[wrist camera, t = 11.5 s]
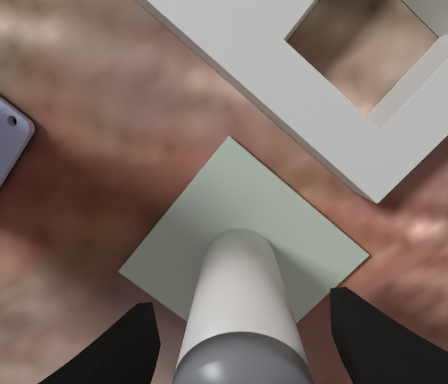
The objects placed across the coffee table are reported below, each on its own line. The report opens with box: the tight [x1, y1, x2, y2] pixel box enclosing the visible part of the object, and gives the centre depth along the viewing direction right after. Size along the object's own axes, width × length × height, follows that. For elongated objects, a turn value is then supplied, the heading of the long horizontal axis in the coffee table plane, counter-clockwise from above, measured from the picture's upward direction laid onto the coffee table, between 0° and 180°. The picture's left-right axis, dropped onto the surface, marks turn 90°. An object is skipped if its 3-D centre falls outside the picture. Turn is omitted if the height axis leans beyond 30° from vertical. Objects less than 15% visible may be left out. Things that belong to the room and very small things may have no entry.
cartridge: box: [172, 228, 314, 384], centre depth 11 cm, size 4×4×8 cm
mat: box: [118, 136, 369, 323], centre depth 15 cm, size 10×10×1 cm
